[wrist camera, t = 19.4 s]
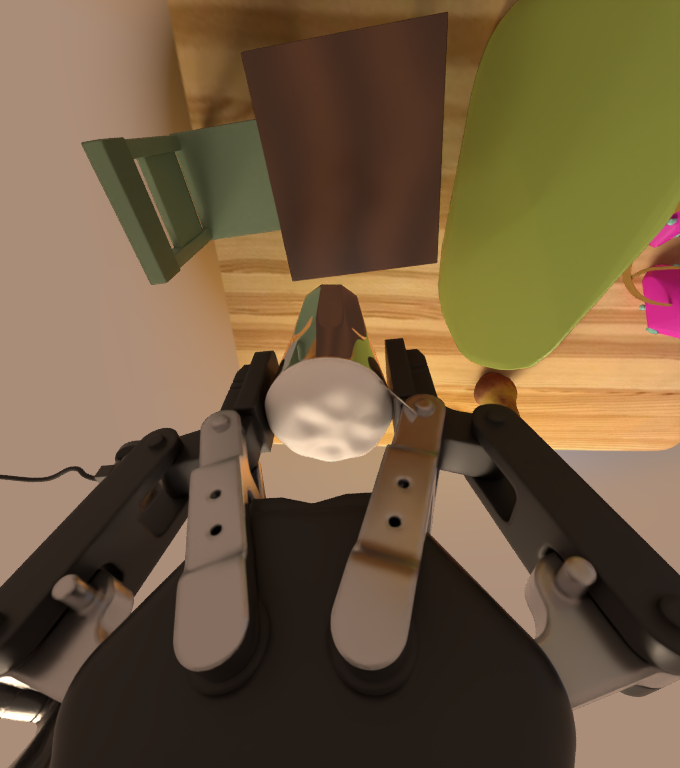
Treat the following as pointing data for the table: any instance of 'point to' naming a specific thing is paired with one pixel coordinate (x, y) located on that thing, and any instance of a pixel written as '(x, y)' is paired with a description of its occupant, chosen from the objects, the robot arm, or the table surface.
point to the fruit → (496, 391)
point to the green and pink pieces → (564, 176)
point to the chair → (186, 191)
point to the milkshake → (330, 382)
